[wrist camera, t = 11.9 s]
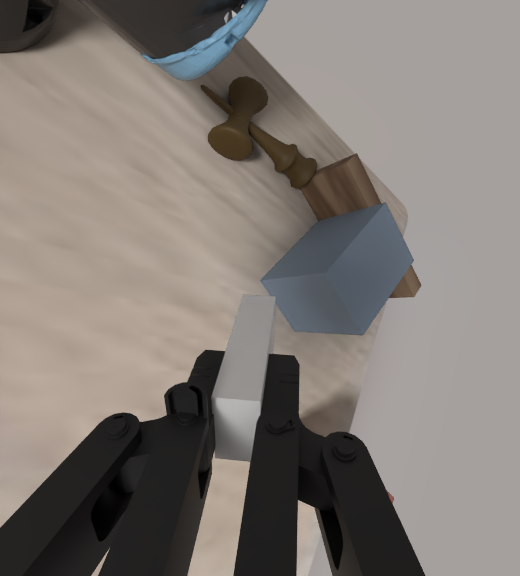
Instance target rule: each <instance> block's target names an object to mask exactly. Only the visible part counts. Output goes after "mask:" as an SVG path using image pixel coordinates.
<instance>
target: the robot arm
mask: <svg viewBox="0 0 520 576" xmlns="http://www.w3.org/2000/svg"><path fill="white" fill-rule="evenodd" d="M79 1H80V2H81V3H82V4H83V5H84V6H86V7H87V8H88V9H89V10H90V11H91V12H93V13H94V14H95V15H96V16H97V17H99V18H100V19H101V20H102V21H103V22H104V23H106V24H107V25H108V26H109V27H110V28H111V29H113V30H114V31H115V32H116V33H117V34H118V35H120V36H121V37H122V38H123V39H124V40H125V41H127V42H128V43H129V44H130V45H131V46H132V47H134V48H135V49H136V50H137V51H138V52H140V53H141V55H142V56H143V57H144V58H145V59H146V60H148V61H150V62H152V63H154V64H157V65H158V66H159V67H160V68H162V69H163V70H164V71H166V72H167V73H168V74H170V75H171V76H172V77H174V78H176V79H179V80H183V81H190V80H194V79H197V78H199V77H201V76H203V75H204V74H206V73H208V72H209V71H210V70H212V69H213V68H214V67H215V66H216V65H218V64H219V63H220V62H221V61H222V60H223V59H224V58H225V57H226V56H227V55H228V54H229V53H230V52H231V50H232V48H233V46H234V44H235V43H236V42H238V41H239V40H241V39H242V38H243V37H244V36H245V34H246V33H247V32H248V31H249V29H250V28H251V27H252V25H253V24H254V23H255V21H256V20H257V18H258V16H259V15H260V13H261V12H262V10H263V8H264V6H265V4H266V2H267V0H79ZM57 6H58V0H0V52H11V51H18V50H22V49H25V48H28V47H30V46H32V45H34V44H36V43H37V42H39V41H40V40H41V39H43V38H44V37H45V36H46V34H47V33H48V32H49V30H50V29H51V27H52V25H53V22H54V19H55V15H56V10H57ZM275 299H276V297H275V296H259V295H243V296H242V299H241V303H240V306H239V309H238V312H237V316H236V319H235V322H234V325H233V329H232V332H231V335H230V338H229V342H228V345H227V348H226V351H215V350H205V351H204V352H203V353H202V354H201V355H200V356H198V357H197V360H196V362H195V364H194V368H193V369H192V372H191V374H190V377H189V379H188V382H184V383H180V384H177V385H174V386H173V387H171V388H170V389H168V391H167V392H166V393H165V395H164V398H165V405H166V412H167V415H166V416H164V417H162V418H159V419H155V420H150V421H144V422H139V420H138V418H137V417H136V416H134V415H133V414H130V413H118V414H114V415H111V416H109V417H107V418H106V419H104V420H103V421H102V422H100V423H99V424H98V425H97V426H96V428H95V429H94V430H93V431H92V432H91V433H90V434H89V435H88V436H87V437H86V438H85V439H84V440H83V441H82V442H81V443H80V444H79V445H78V446H77V448H76V449H75V450H74V451H73V452H72V453H71V454H70V455H69V456H68V457H67V458H66V459H65V460H64V461H63V462H62V463H61V464H60V465H59V467H58V468H57V469H56V470H55V471H54V472H53V473H52V474H51V475H50V476H49V477H48V478H47V479H46V480H45V481H44V482H43V483H42V484H41V486H40V487H39V488H38V489H37V490H36V491H35V492H34V493H33V494H32V495H31V496H30V497H29V498H28V499H27V500H26V501H25V502H24V503H23V504H22V506H21V507H20V508H19V509H18V510H17V511H16V512H15V513H14V514H13V515H12V516H11V517H10V518H9V519H8V520H7V521H6V522H5V523H4V525H3V526H2V527H1V528H0V576H91V575H92V574H93V572H94V571H95V569H96V567H97V566H98V564H99V563H100V561H101V560H102V558H103V557H104V555H105V554H106V552H107V551H108V549H109V548H110V549H109V552H108V554H107V556H106V559H105V561H104V563H103V566H102V568H101V570H100V573H99V575H98V576H187V574H188V570H189V566H190V562H191V558H192V554H193V550H194V545H195V541H196V537H197V533H198V529H199V525H200V521H201V516H202V512H203V508H204V504H205V500H206V496H207V492H208V487H209V483H210V479H211V475H212V458H213V454H214V450H215V458H219V459H229V460H239V461H249V462H250V469H249V476H248V482H247V489H246V496H245V502H244V509H243V516H242V522H241V529H240V536H239V542H238V549H237V556H236V562H235V569H234V576H296V566H297V514H298V500H300V501H302V502H304V503H306V504H308V505H310V506H313V507H315V512H316V515H317V519H318V523H319V527H320V530H321V534H322V538H323V542H324V545H325V549H326V553H327V557H328V560H329V564H330V568H331V572H332V575H333V576H425V574H424V572H423V569H422V567H421V565H420V563H419V561H418V559H417V556H416V554H415V552H414V550H413V548H412V545H411V543H410V541H409V539H408V537H407V535H406V532H405V530H404V528H403V526H402V524H401V521H400V519H399V517H398V515H397V513H396V511H395V509H394V506H393V504H392V502H391V500H390V497H389V495H388V493H387V491H386V489H385V486H384V484H383V482H382V480H381V478H380V476H379V474H378V471H377V469H376V467H375V465H374V462H373V460H372V458H371V456H370V454H369V452H368V450H367V447H366V446H365V445H364V443H363V442H362V441H361V440H360V439H359V438H357V437H356V436H355V435H352V434H350V433H347V432H335V433H331V434H329V435H328V436H327V437H323V436H320V435H318V434H315V433H313V432H311V431H310V430H308V429H307V428H306V427H305V426H304V425H303V424H302V422H301V420H300V418H299V363H298V361H297V359H296V358H295V356H292V355H279V354H273V348H274V326H275ZM110 546H111V547H110Z"/></svg>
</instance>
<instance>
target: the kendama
mask: <svg viewBox="0 0 520 576" xmlns="http://www.w3.org/2000/svg"><path fill="white" fill-rule="evenodd" d="M201 89H202V90H203V92H204V93H205V94H206V95H207V96H209V97H210V98H211V99H212V100H213V101H214V102H215V103H216V104H217V105H218V106H220V107H221V108H222V109H223V110H224V111H225V112H226V113H227V114H228V115H229V117H228V120H227V121H226V122H224V123H222V124H220V125H218V126H216V127H214V128H213V129H212V130H211V131H210V132H209V134H208V142H209V144H210V145H211V147H212V148H213V149H214V150H215V151H216V152H217V153H219V154H220V155H222V156H224V157H226V158H228V159H231V160H243V159H246V158H248V157H249V156H250V155H251V153H252V150H253V144H252V141H251V138H250V135H251V136H252V137H253V138H254V139H255V140H256V142H257V143H258V144H259V145H260V146H261V147H262V148H263V149H264V150H265V152H266V153H267V154H268V155H269V156H270V158H271V159H272V160H273V162H274V164H275V170H276V171H277V172H283V173H284V174H285V175H287V177H288V178H289V179H290V183H291V186H292V187H293V188H301V187H303V186H305V185H306V184H307V183H308V182H310V181H311V179H312V178H313V176H314V174H315V172H316V168H317V162H316V160H315V159H313V158H307V159H306V158H305V157H303V156H302V155H301V154H300V153H299V152H298V149H297V146H296V145H295V144H291V145H286V144H284V143H282V142H280V141H279V140H277V139H275V138H274V137H272V136H271V135H269V134H267V133H266V132H264V131H263V130H261V129H260V128H259V127H257V126H256V125H254V124H253V123H252V122H250V120H251V118H252V116H253V115H255V114H256V113H258V112H260V111H261V110H262V109H263V108H264V107H265V106H266V105H267V101H268V95H267V92H266V90H265V89H264V87H263V86H262V85H261V84H260V83H259V82H257V81H256V80H254V79H252V78H249V77H247V76H246V77H238V78H237V79H235V80H233V82H232V83H231V84H230V86H229V92H228V95H229V100H230V105H231V106H230V105H229V104H228V103H227V102H225V101H224V100H223V99H222V98H220V97H219V96H218V95H217V94H215V93H214V92H213V91H212V90H210V89H209V88H208V87H206V86H204V85H201ZM249 134H250V135H249Z"/></svg>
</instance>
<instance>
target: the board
mask: <svg viewBox="0 0 520 576" xmlns="http://www.w3.org/2000/svg"><path fill="white" fill-rule="evenodd" d="M300 189H301V191H302V192H303V194H304V196H305V198H306V199H307V201H308V203H309V205H310V207H311V208H312V210H313V212H314V214H315V215H316V217H317V219H318V221H320V220H324V219H327V218H331V217H334V216H338V215H342V214H345V213H349V212H353V211H356V210H360V209H363V208H367V207H371V206H374V205H378V204H381V202H380V200H379V198H378V196H377V194H376V192H375V189H374V187H373V185H372V183H371V181H370V179H369V177H368V175H367V173H366V171H365V169H364V167H363V165H362V163H361V161H360V159H359V157H358V155H357V154H354V155H352V156H349V157H347V158H345V159H343V160H340V161H338V162H336V163H333V164H331V165H329V166H326V167H324V168H322V169H319V170H317V171H316V172H315V174H314V176H313V178H312V179H311V181H310V182H308V183H307V184H306V185H305V186H303V187H301V188H300ZM420 287H421V283H420V281H419V280H418V277H417V275H416V273H415V271H414V269H413V267H412V265H410V267H409V268H408V270H407V271H406V273H405V274H404V276H403V277H402V279H401V280H400V282H399V283H398V285H397V286H396V288H395V289H394V291H393V292H392V293H391V295H390V296H389V298H399V297H414V296H415V295H416V293H417V291H418V290H419V288H420Z"/></svg>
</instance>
